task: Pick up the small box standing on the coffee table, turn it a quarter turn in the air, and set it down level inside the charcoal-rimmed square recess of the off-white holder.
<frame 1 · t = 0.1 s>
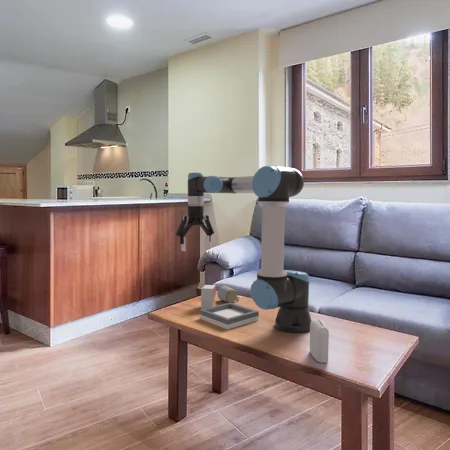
hand: (195, 249, 184), 28 cm above the table, tool pointing down, fingers open, 13 cm apart
small box: (208, 308, 183), on the table
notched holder: (229, 319, 166), on the table
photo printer: (318, 357, 128), on the table
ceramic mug: (229, 301, 196), on the table
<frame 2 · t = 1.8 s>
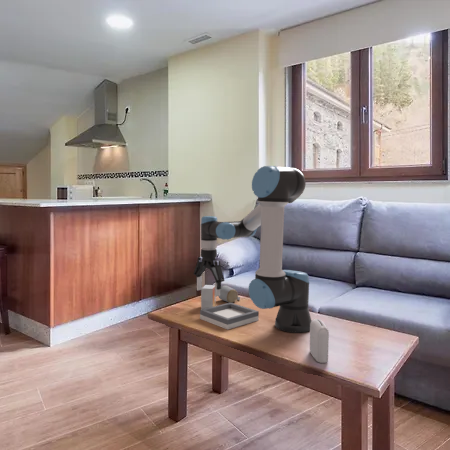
hand: (208, 292, 183), 7 cm above the table, tool pointing down, fingers open, 13 cm apart
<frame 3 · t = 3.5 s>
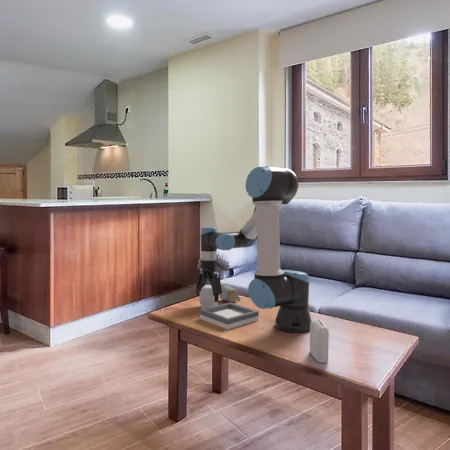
hand: (208, 306, 183), 1 cm above the table, tool pointing down, fingers closed on small box, 9 cm apart
small box: (208, 308, 183), on the table, touching gripper
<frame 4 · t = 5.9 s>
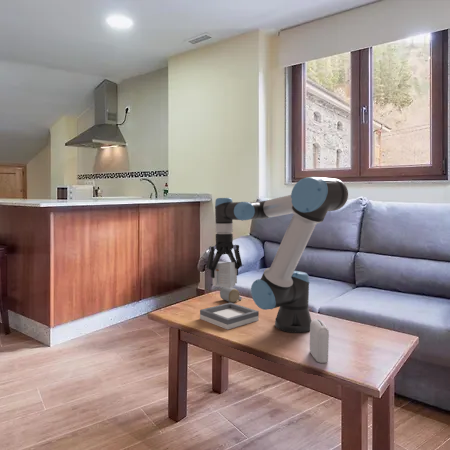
hand: (224, 283, 169), 15 cm above the table, tool pointing down, fingers closed on small box, 9 cm apart
small box: (224, 286, 169), point 14 cm above the table, touching gripper
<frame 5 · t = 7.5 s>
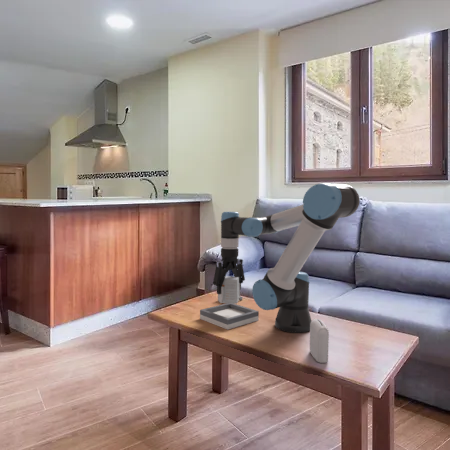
hand: (229, 299, 166), 9 cm above the table, tool pointing down, fingers closed on small box, 9 cm apart
small box: (229, 302, 166), point 8 cm above the table, touching gripper
when the fingers open (6 cm above the table, at t = 8.5 s): small box drops 3 cm, resting on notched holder.
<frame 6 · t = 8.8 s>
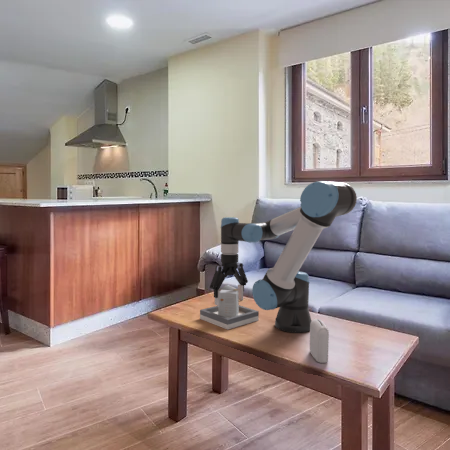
hand: (229, 302, 166), 8 cm above the table, tool pointing down, fingers open, 13 cm apart
small box: (228, 315, 166), point 2 cm above the table, touching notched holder
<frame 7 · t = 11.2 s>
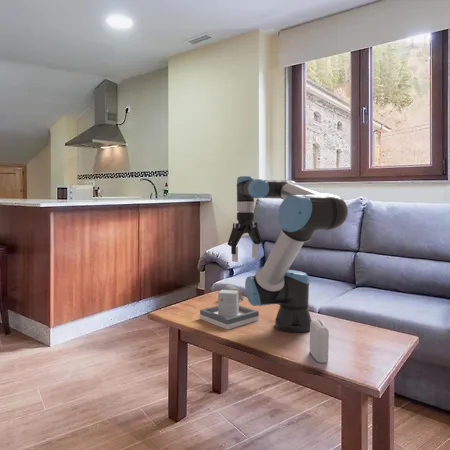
hand: (245, 260, 169), 25 cm above the table, tool pointing down, fingers open, 13 cm apart
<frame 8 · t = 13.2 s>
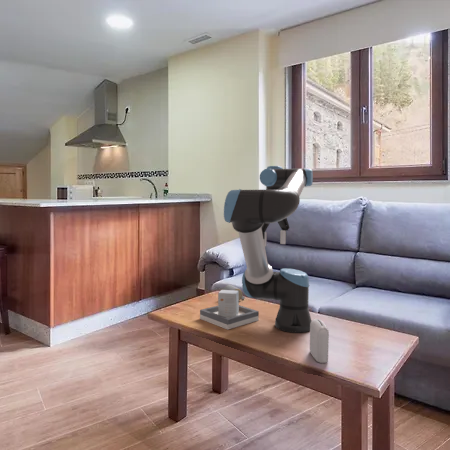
hand: (273, 245, 180), 31 cm above the table, tool pointing down, fingers open, 13 cm apart
at the end: small box inside the target area on the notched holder (0.6 cm from its centre), point 1.8 cm above the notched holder's base; small box tilted 0°; the gripper is holding nothing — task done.
